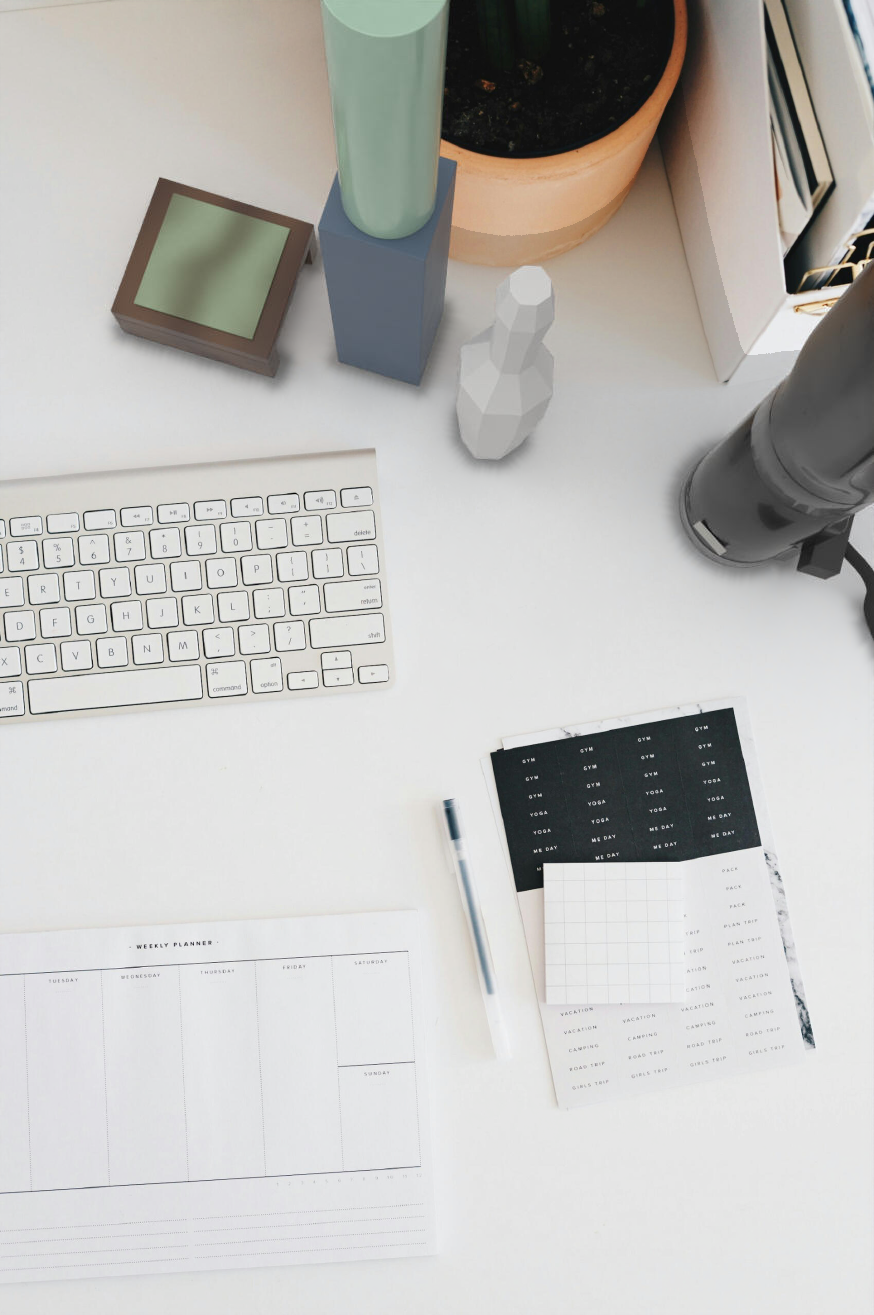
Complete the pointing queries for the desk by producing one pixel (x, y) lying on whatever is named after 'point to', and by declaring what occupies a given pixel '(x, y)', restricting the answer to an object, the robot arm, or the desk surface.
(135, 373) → the desk surface
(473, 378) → the faceted bottle
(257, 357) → the brown green square block
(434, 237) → the plinth
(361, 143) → the mint green cylinder
